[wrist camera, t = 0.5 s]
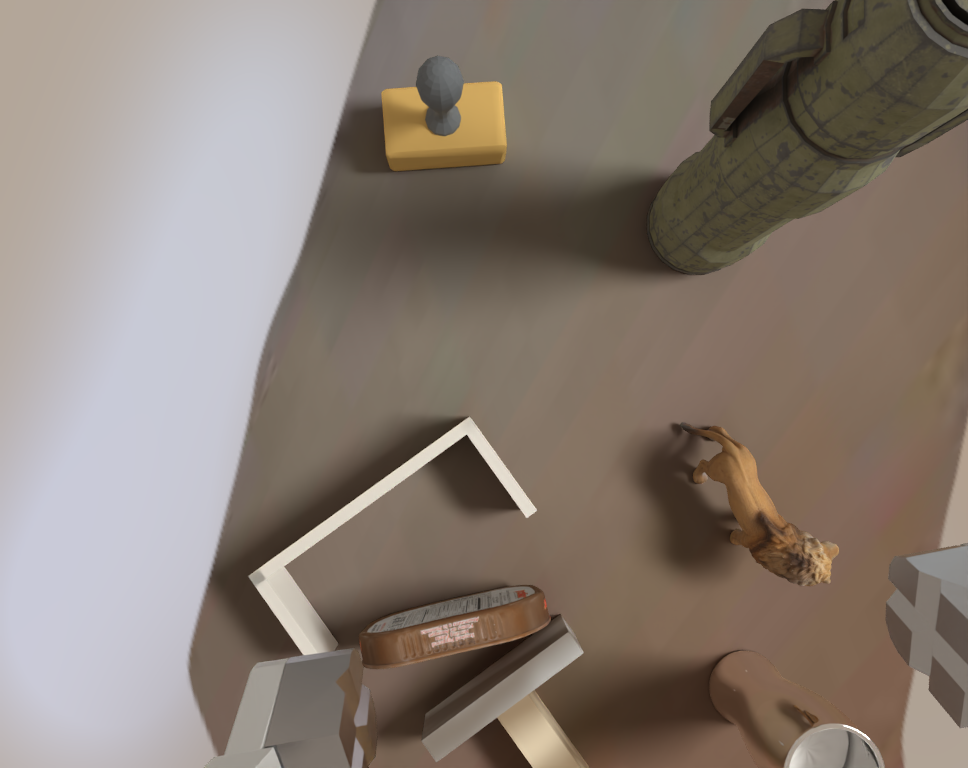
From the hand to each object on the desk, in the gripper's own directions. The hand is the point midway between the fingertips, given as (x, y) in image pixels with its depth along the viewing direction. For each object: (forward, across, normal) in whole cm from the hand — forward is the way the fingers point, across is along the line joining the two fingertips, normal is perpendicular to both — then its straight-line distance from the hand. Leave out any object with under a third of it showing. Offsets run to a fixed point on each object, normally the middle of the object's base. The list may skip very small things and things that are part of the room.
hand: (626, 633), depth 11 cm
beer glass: (+36, +16, -42) cm, 57 cm away
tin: (+40, -7, -32) cm, 52 cm away
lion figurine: (+43, +18, -28) cm, 54 cm away
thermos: (+53, +19, -7) cm, 56 cm away
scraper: (+35, -1, -43) cm, 55 cm away
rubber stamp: (+57, -1, +4) cm, 57 cm away
